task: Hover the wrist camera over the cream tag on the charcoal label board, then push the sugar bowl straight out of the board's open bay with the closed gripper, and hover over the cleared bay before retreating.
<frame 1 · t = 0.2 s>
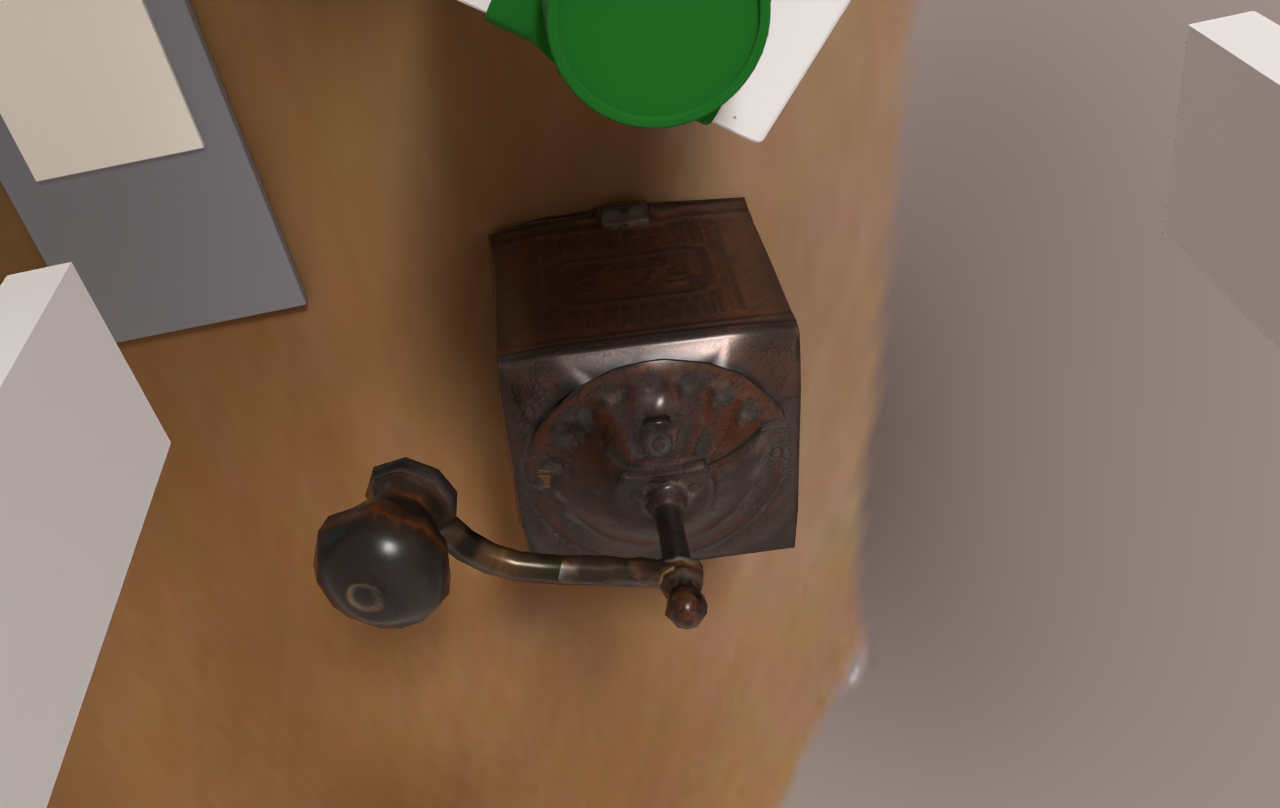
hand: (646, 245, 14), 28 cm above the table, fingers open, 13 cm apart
brown manual coffee grinder: (568, 320, 47), on the table
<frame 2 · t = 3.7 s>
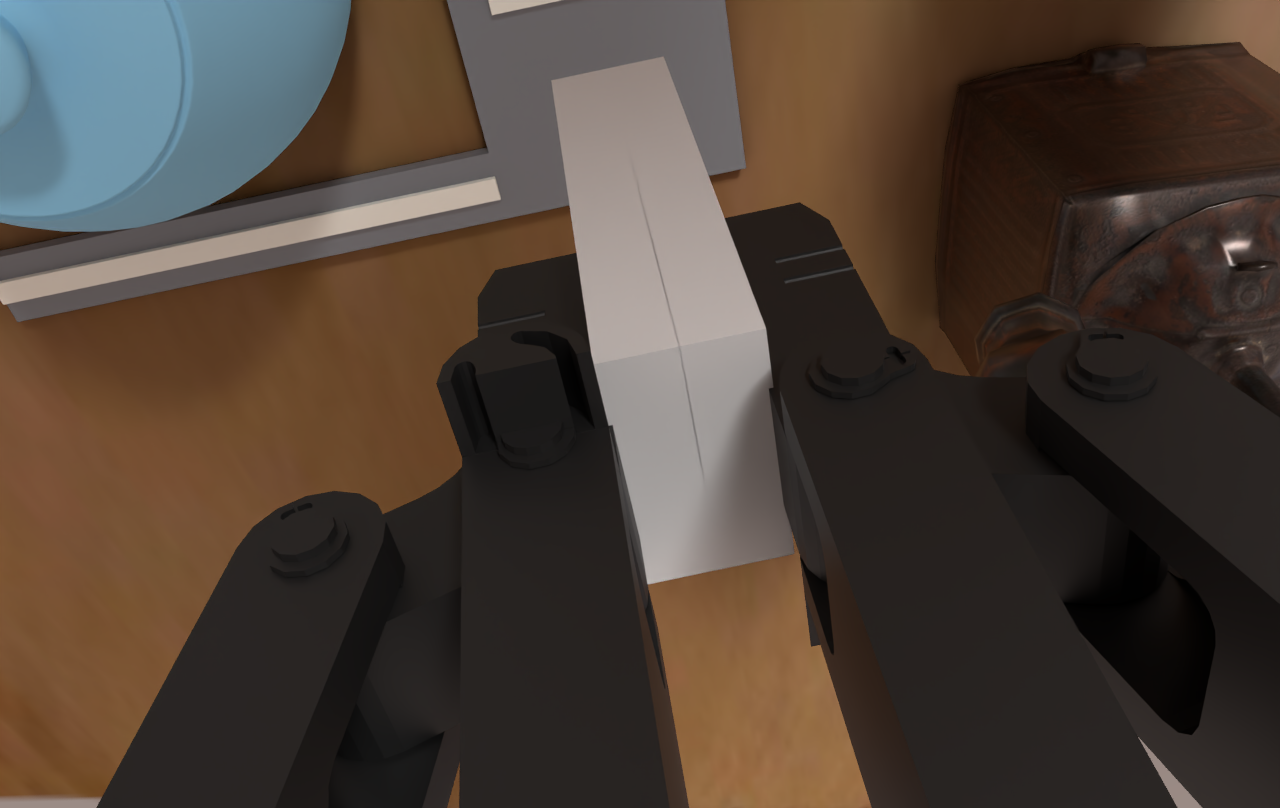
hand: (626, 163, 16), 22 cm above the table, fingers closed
brown manual coffee grinder: (1010, 191, 42), on the table
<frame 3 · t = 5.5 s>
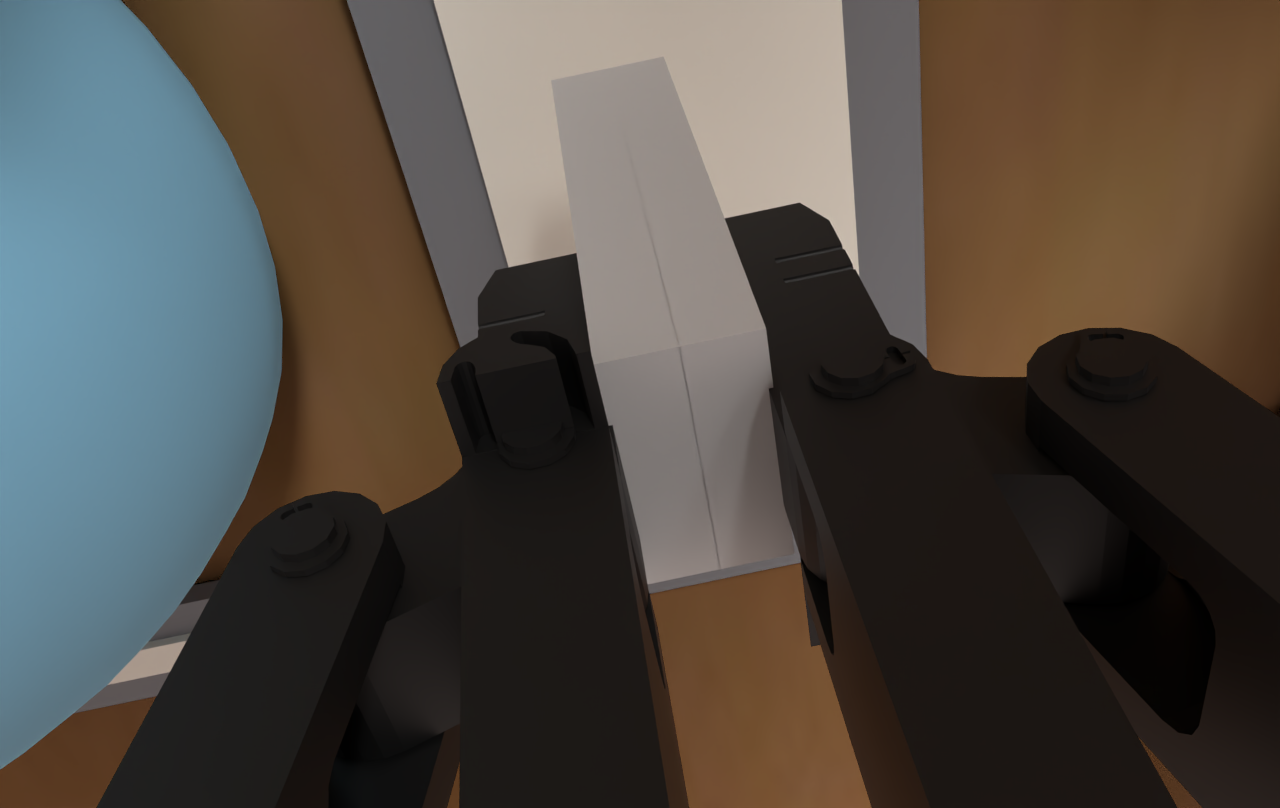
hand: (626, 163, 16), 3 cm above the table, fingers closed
label board: (177, 159, 18), on the table
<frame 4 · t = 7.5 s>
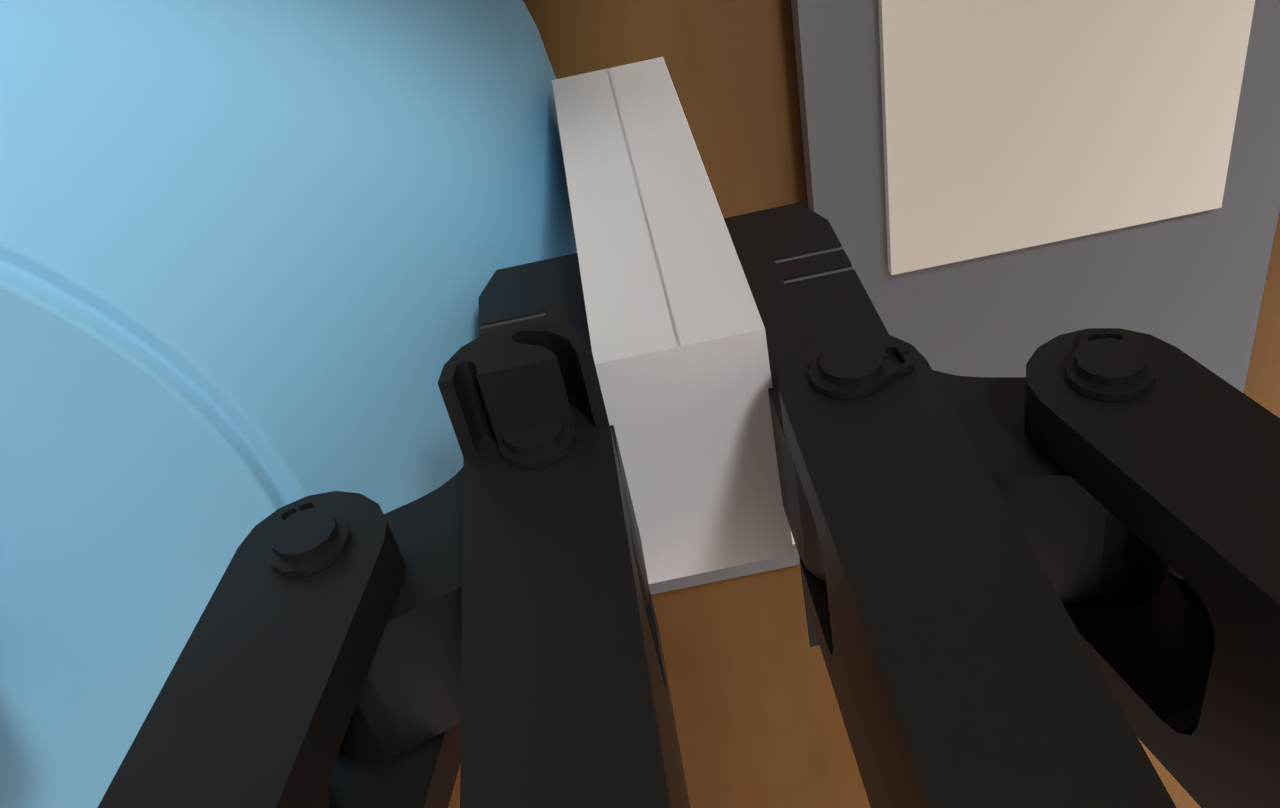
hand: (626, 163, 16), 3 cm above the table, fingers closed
sugar bowl: (103, 163, 18), on the table, touching gripper
label board: (578, 74, 18), on the table
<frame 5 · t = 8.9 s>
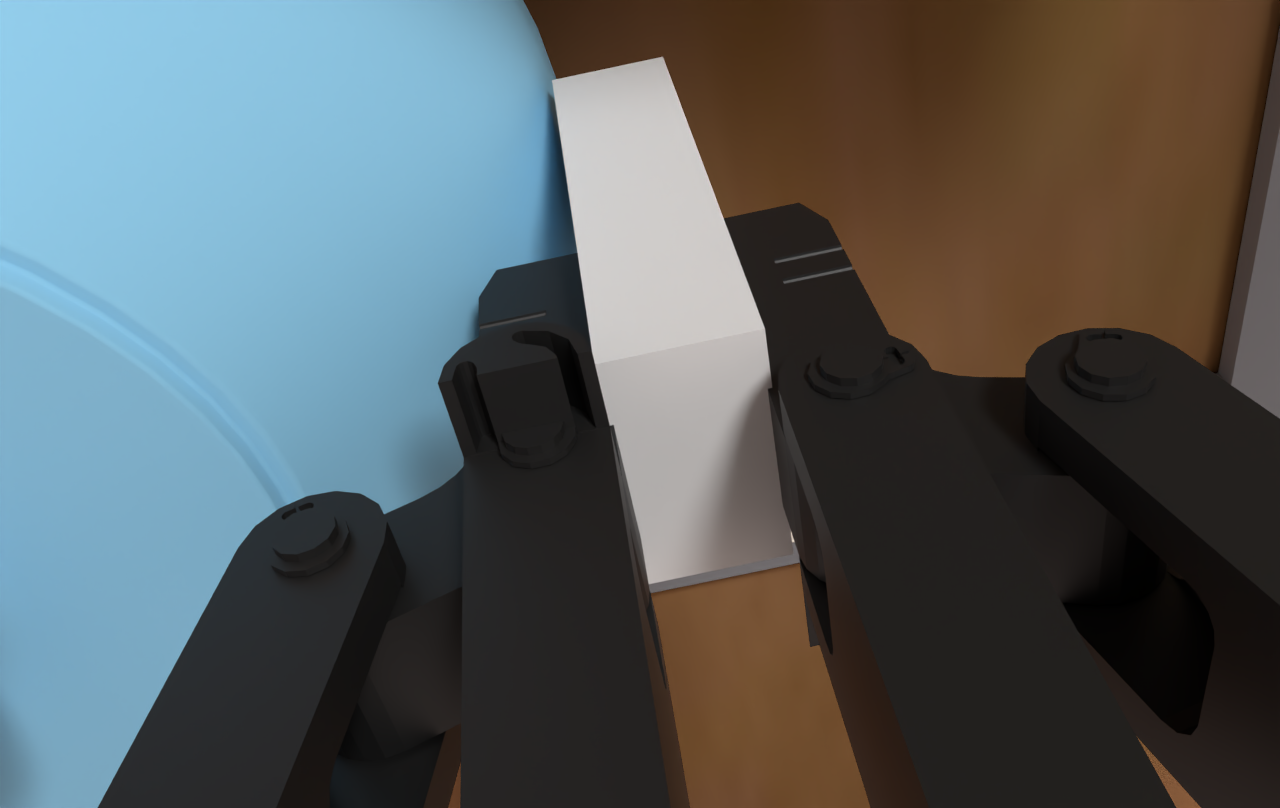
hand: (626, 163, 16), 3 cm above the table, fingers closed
sugar bowl: (103, 163, 18), on the table, touching gripper
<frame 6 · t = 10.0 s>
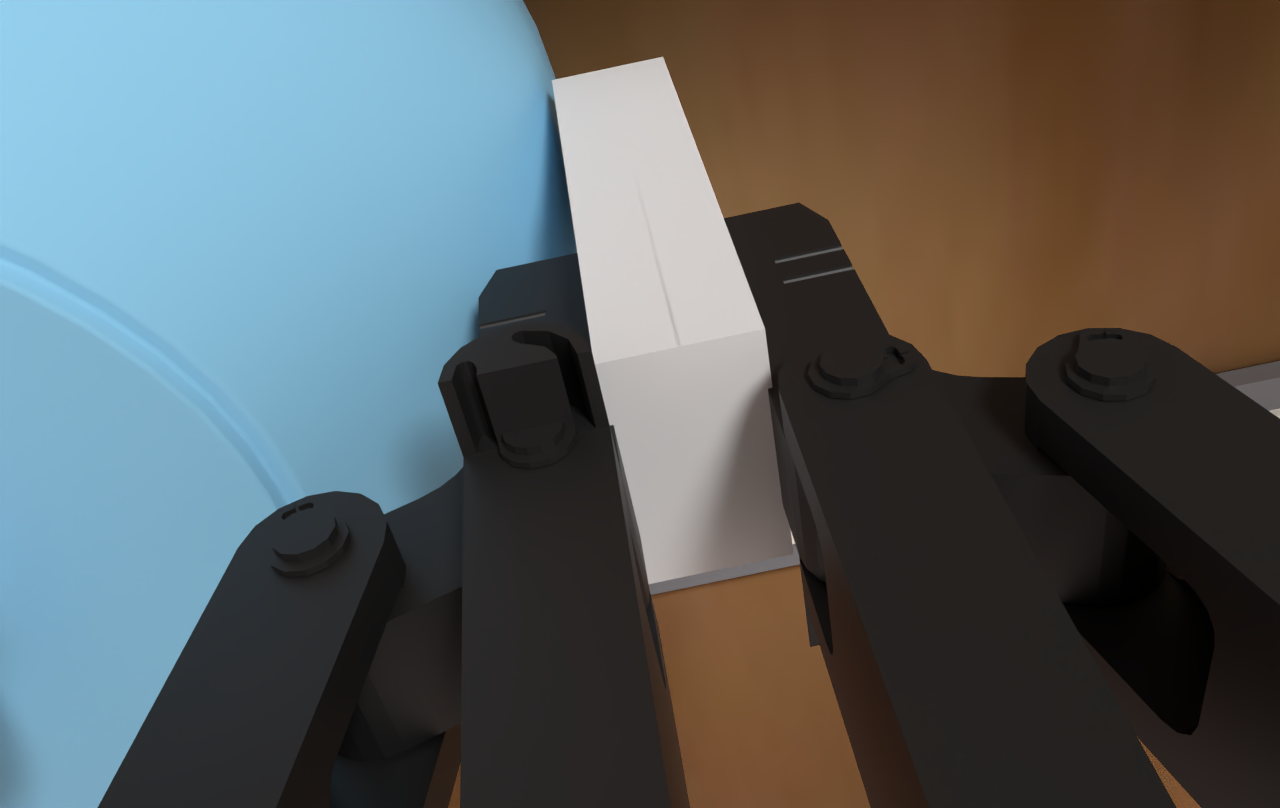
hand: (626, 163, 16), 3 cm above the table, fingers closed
sugar bowl: (103, 162, 18), on the table, touching gripper
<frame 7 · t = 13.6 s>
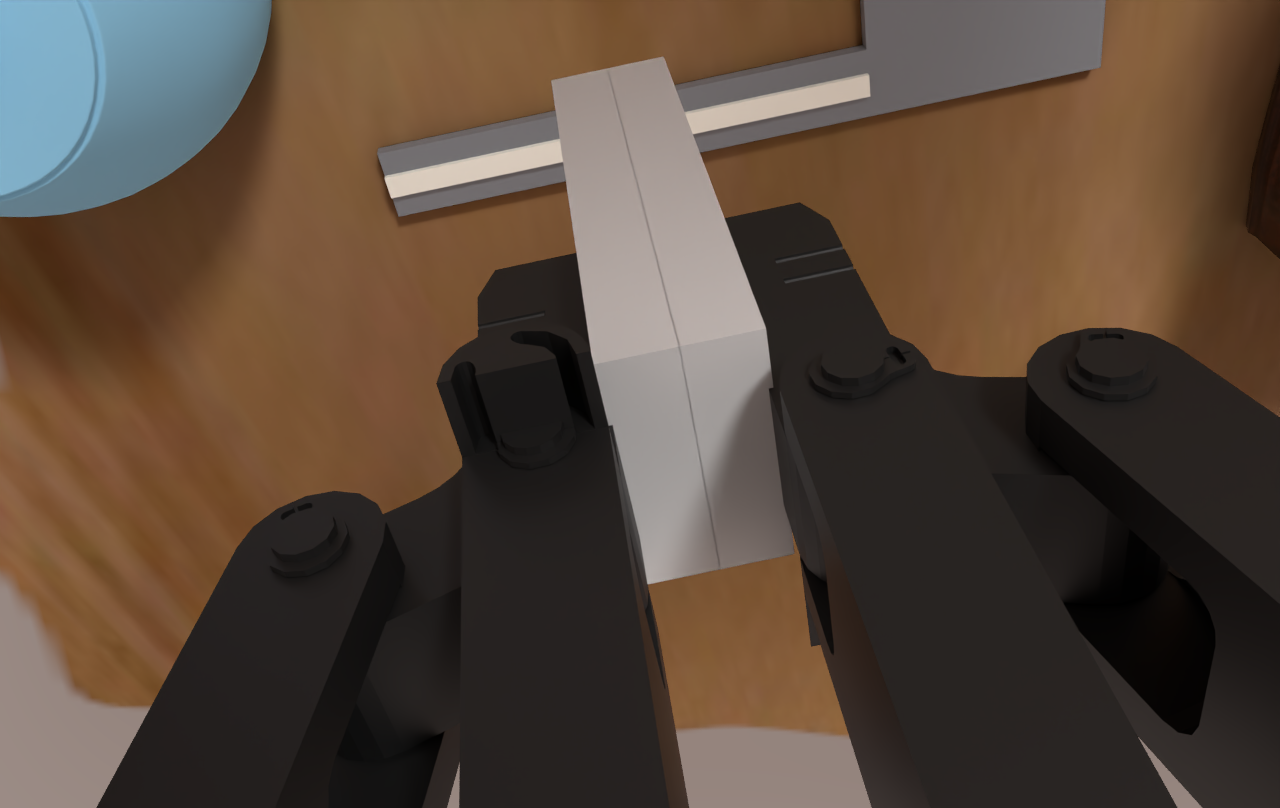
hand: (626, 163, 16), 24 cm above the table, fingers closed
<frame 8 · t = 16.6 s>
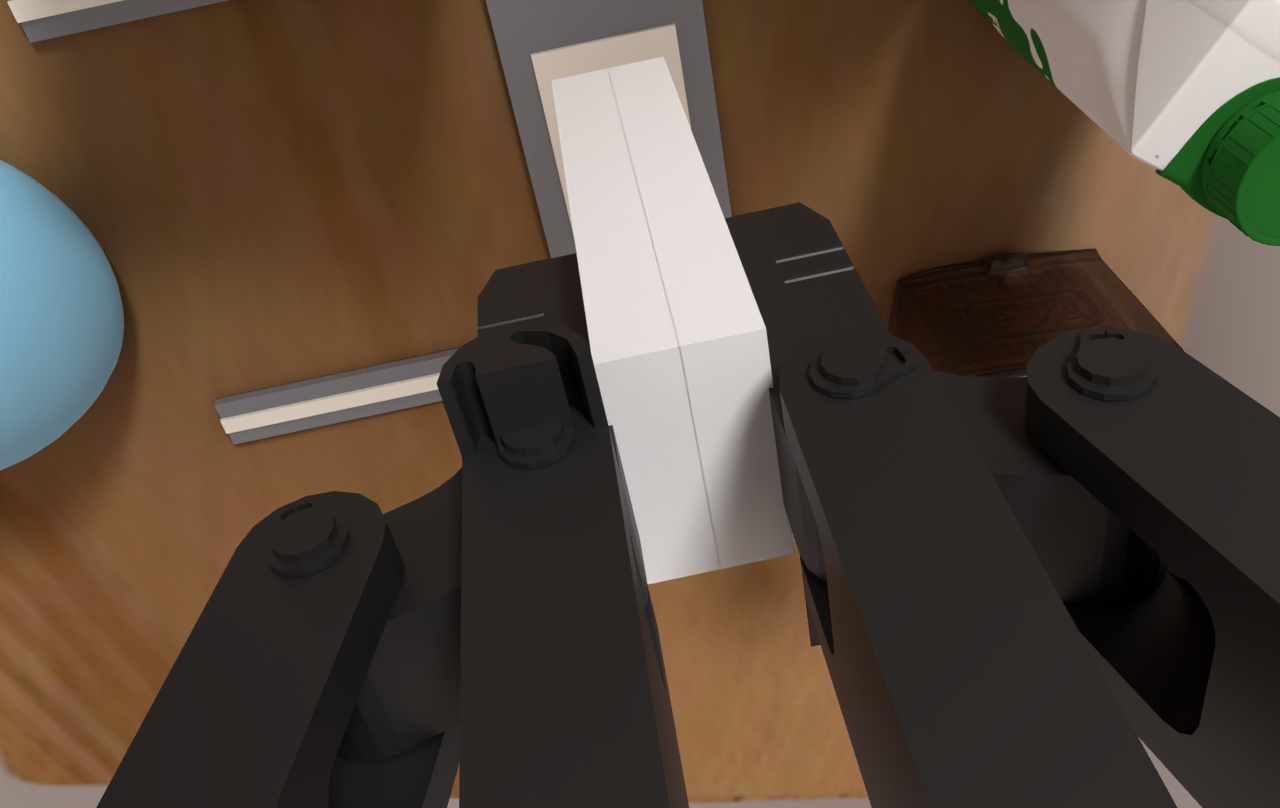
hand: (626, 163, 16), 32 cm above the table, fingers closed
brown manual coffee grinder: (938, 345, 59), on the table
label board: (447, 172, 50), on the table
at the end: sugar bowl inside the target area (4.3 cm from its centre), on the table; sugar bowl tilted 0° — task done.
